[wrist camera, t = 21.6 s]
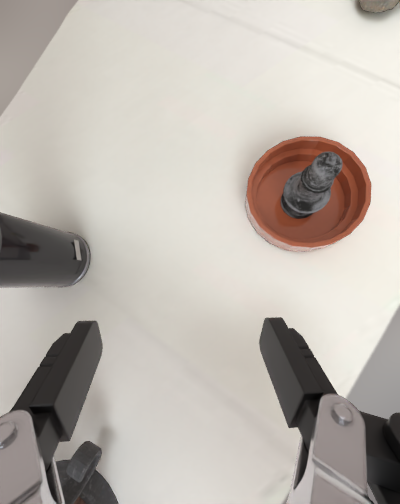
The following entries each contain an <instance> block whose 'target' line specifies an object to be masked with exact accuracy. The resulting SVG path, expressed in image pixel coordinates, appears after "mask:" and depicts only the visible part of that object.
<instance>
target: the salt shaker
mask: <svg viewBox="0 0 400 504" xmlns="http://www.w3.org/2000/svg"><path fill="white" fill-rule="evenodd" d="M342 166H343V164H342V159H341V158H340V156H339V155H337V154H336V153H334V152H323V153H321V154H319V155H318V156H317V157H316V158H315V159H314V161H313V162H312V164H311V165H309V166H307V167H306V168H305V169H304V170H303V171H302V172H298V173H296V174H294V175H292V176H291V177H290V178H289V179H288V180H287V182H286V183H285V186H284V189H283V194H282V197H281V207H282V209H283V211H284V212H285V213H286V214H287V215H288V216H290V217H292V218H296V219H303V218H307V217H309V216H311V215H312V214H313V213H314V212H317V211H319V210H321V209H322V208H323V207H324V206H325V205H326V204H327V203H328V201H329V199H330V196H331V186H332V185H333V182H334V178H335V177H336V176H337V175H338V174H339V173H340V171H341V169H342Z"/></svg>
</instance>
